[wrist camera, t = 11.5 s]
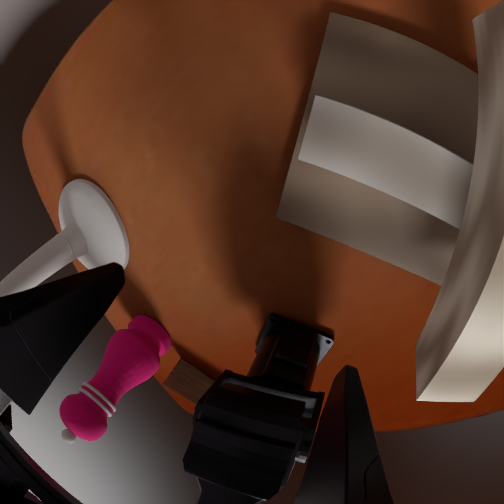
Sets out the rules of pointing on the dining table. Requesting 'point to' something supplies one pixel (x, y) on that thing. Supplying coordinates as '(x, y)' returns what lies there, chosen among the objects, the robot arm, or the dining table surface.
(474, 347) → the cream beige bar
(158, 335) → the pepper mill
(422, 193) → the ridge stand
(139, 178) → the dining table surface
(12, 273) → the candlestick
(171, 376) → the wood plank
